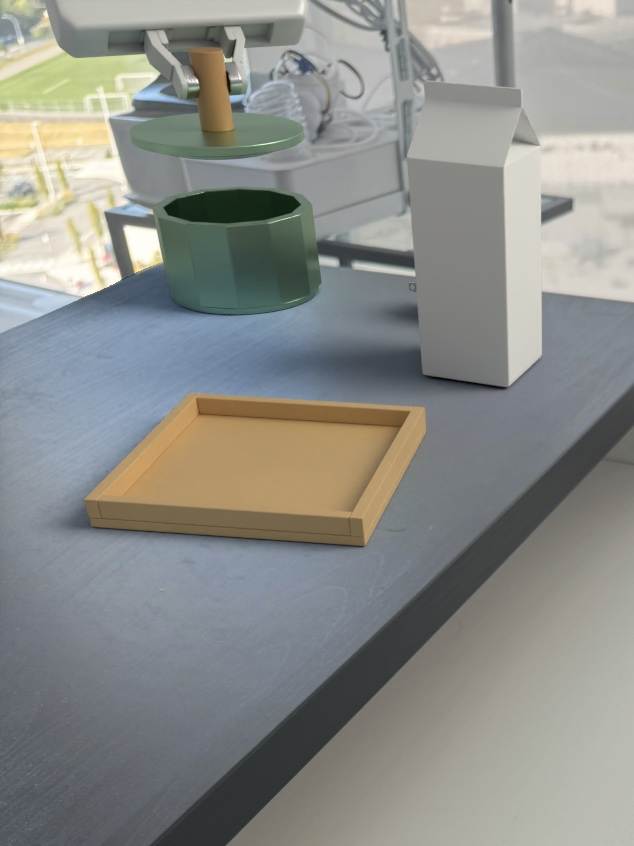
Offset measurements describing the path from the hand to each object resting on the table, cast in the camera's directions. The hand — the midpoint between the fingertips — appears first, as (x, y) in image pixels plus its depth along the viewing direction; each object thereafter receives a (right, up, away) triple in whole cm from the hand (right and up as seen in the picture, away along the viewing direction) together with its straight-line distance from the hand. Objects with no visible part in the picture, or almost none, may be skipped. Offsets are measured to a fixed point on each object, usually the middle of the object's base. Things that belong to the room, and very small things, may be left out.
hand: (215, 92), depth 93 cm
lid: (0, -2, +3) cm, 3 cm away
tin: (-1, -12, +10) cm, 15 cm away
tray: (+10, -36, -18) cm, 41 cm away
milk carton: (+22, -23, -3) cm, 32 cm away
